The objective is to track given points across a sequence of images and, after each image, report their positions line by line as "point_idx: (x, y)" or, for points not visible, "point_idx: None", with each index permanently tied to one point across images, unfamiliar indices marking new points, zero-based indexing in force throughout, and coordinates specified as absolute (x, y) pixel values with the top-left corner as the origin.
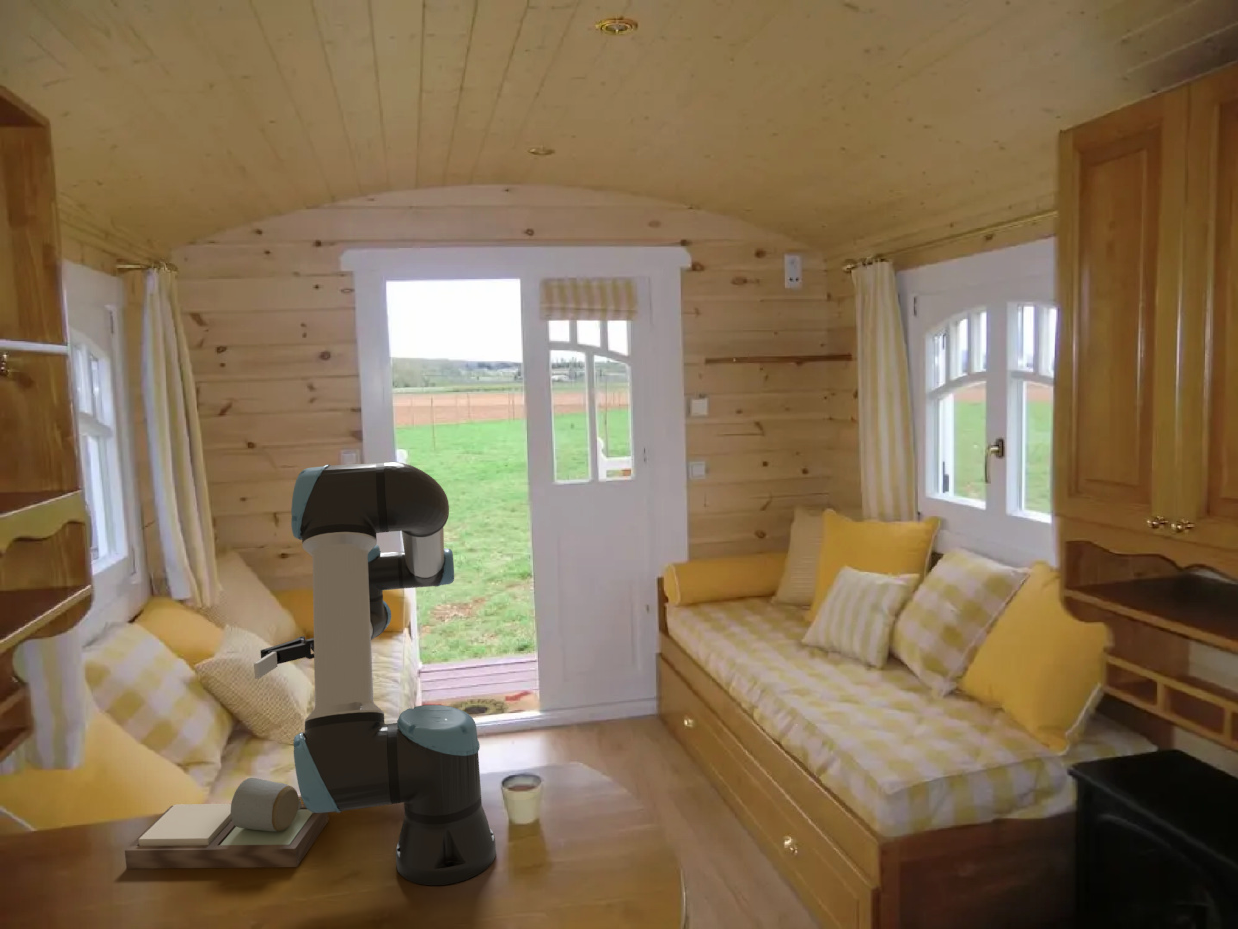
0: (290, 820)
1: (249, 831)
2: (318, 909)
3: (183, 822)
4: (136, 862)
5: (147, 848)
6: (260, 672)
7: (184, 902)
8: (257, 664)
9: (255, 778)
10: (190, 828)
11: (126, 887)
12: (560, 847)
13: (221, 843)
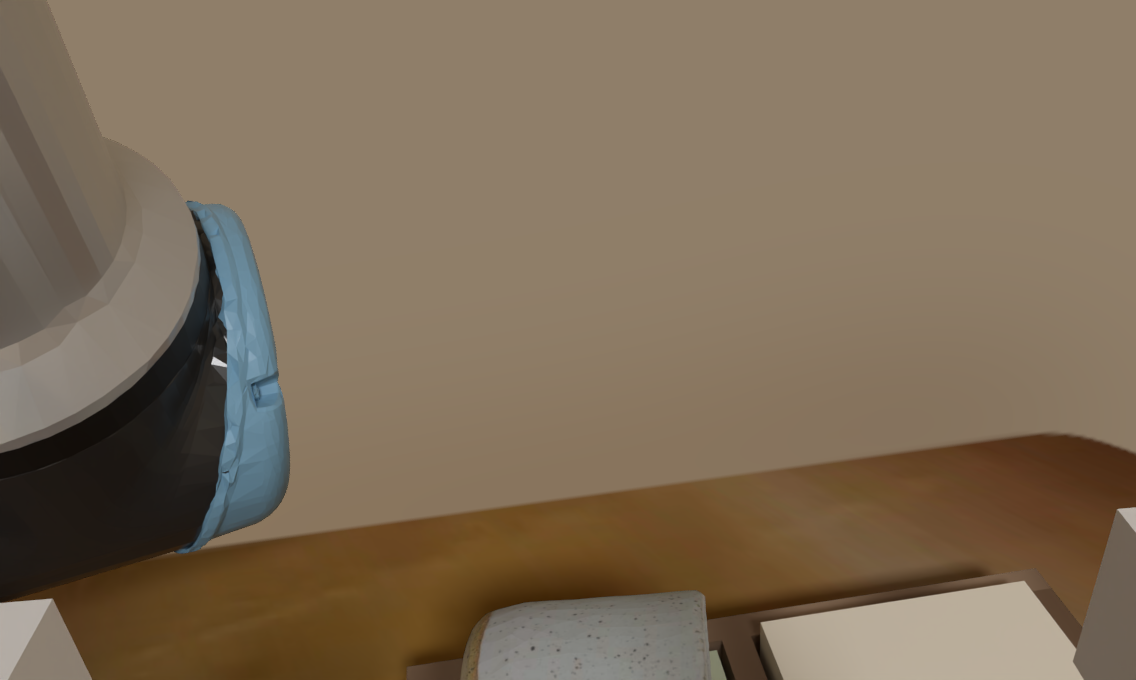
0: None
1: None
2: (277, 567)
3: None
4: None
5: (966, 588)
6: (1112, 653)
7: (675, 533)
8: (1118, 518)
9: (672, 672)
10: (896, 663)
11: (913, 553)
12: None
13: (719, 660)
